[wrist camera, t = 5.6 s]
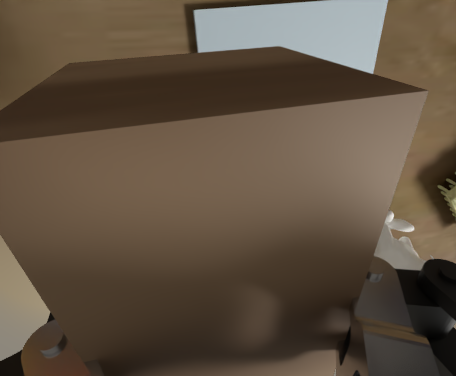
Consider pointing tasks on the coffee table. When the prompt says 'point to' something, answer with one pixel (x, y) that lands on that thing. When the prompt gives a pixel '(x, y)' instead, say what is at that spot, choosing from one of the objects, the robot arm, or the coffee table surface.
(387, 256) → the white rounded figure
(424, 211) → the coffee table surface
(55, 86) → the walnut pedestal
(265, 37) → the board
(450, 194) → the spiky scrub brush
